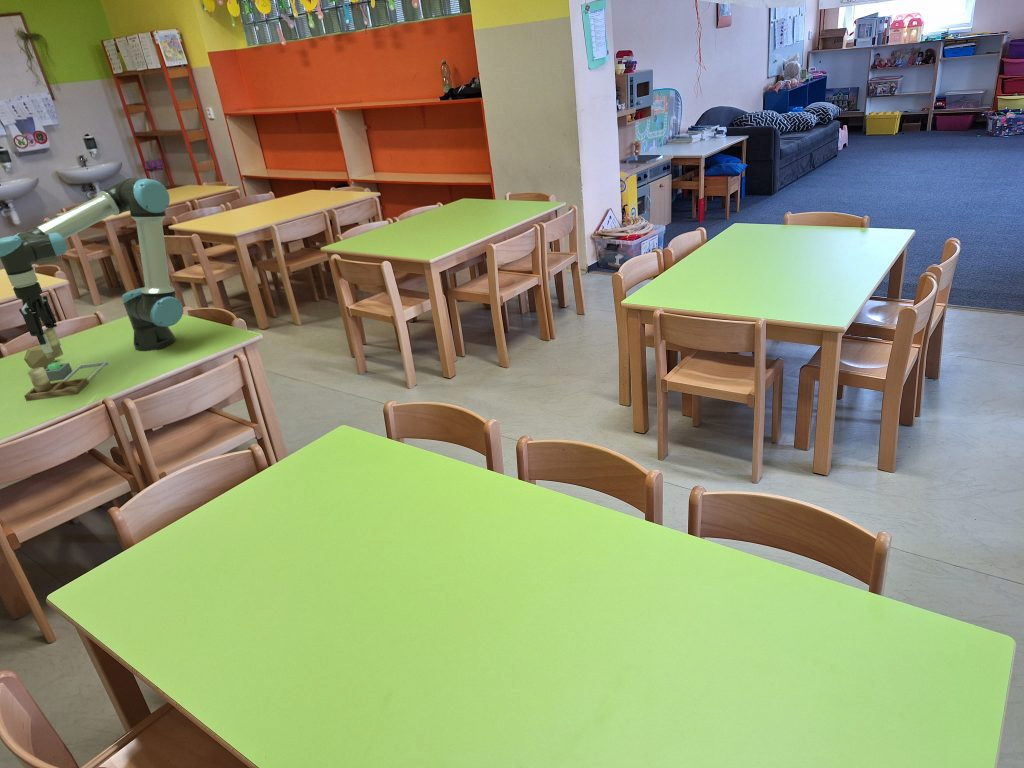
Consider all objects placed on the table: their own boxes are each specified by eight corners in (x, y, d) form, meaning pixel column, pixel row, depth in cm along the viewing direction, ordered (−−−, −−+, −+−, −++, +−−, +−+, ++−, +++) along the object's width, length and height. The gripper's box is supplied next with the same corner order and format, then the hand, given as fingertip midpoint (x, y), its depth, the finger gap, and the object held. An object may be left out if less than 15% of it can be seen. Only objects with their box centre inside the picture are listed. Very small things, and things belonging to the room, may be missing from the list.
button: (66, 374, 267) (60, 361, 265) (61, 379, 264) (55, 365, 262) (56, 376, 267) (50, 362, 265) (51, 380, 264) (45, 367, 262)
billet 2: (66, 352, 249) (56, 328, 245) (59, 357, 244) (48, 333, 241) (51, 354, 249) (41, 330, 245) (44, 359, 244) (33, 335, 240)
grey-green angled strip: (108, 365, 273) (107, 361, 272) (90, 383, 258) (88, 379, 257) (81, 369, 273) (79, 365, 272) (60, 387, 258) (59, 383, 257)
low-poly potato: (43, 377, 270) (67, 354, 274) (17, 358, 265) (41, 335, 269) (42, 376, 282) (65, 355, 286) (17, 358, 277) (40, 336, 281)
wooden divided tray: (89, 385, 257) (86, 377, 256) (78, 396, 249) (75, 388, 248) (40, 391, 256) (37, 384, 255) (27, 403, 248) (24, 395, 247)
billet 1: (56, 389, 254) (46, 366, 250) (49, 395, 250) (39, 372, 246) (42, 391, 254) (32, 368, 250) (35, 397, 250) (24, 374, 246)
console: (73, 373, 269) (68, 362, 267) (64, 381, 263) (59, 370, 261) (54, 376, 269) (49, 365, 267) (45, 384, 263) (40, 373, 261)
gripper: (28, 277, 243) (54, 340, 254) (-2, 294, 227) (27, 361, 237) (50, 274, 244) (75, 337, 254) (22, 291, 227) (50, 358, 238)
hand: (52, 348), depth 246 cm, fingers closed on billet 2, 5 cm apart
